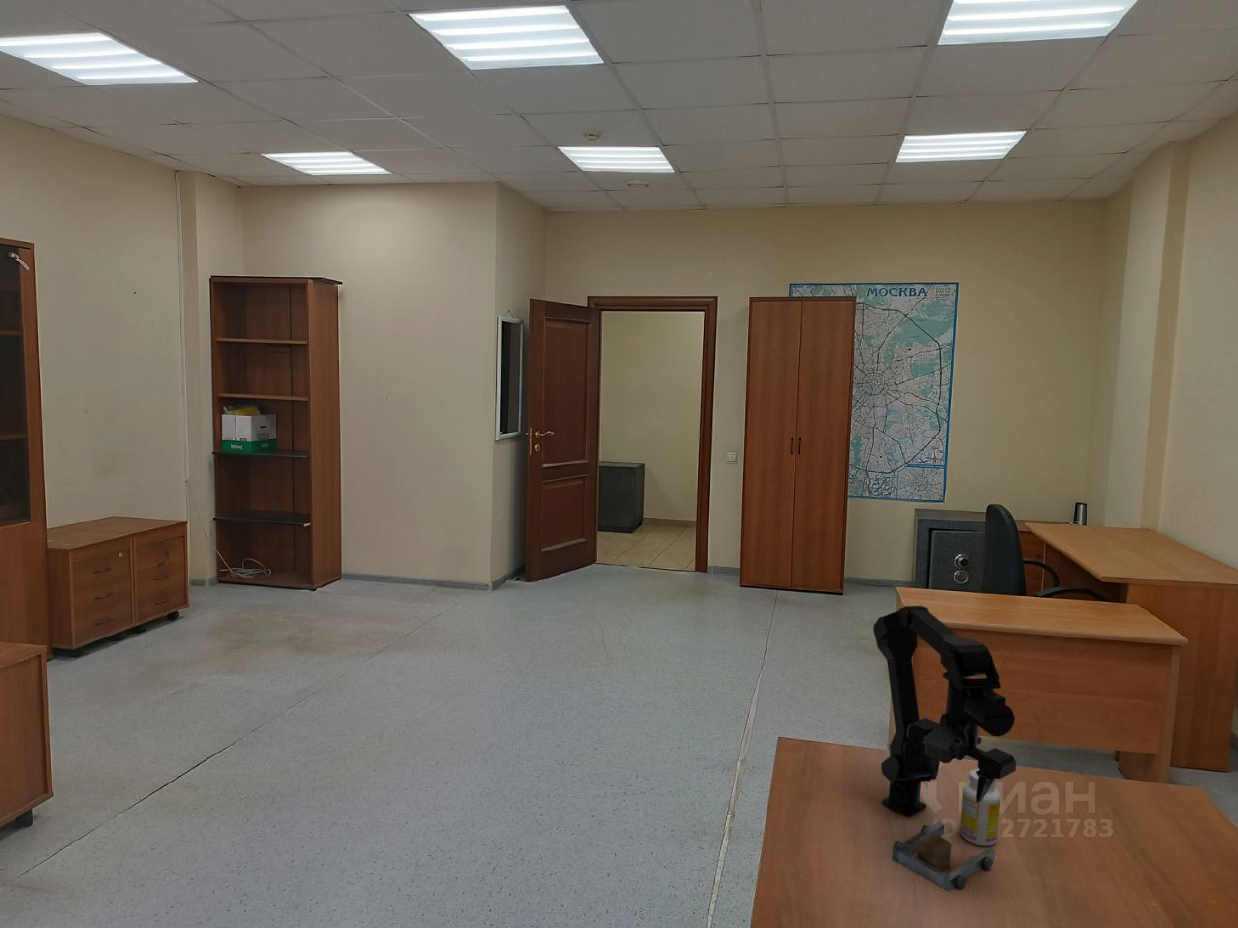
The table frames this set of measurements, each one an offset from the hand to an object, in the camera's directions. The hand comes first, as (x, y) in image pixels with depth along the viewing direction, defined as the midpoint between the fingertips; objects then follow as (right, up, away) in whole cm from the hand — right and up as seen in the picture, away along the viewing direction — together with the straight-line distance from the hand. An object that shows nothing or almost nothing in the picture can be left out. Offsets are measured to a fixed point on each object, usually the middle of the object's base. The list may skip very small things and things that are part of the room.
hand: (955, 789), depth 153 cm
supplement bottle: (+7, -12, +7) cm, 16 cm away
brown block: (-5, -13, -2) cm, 14 cm away
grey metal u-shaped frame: (-2, -13, 0) cm, 13 cm away
